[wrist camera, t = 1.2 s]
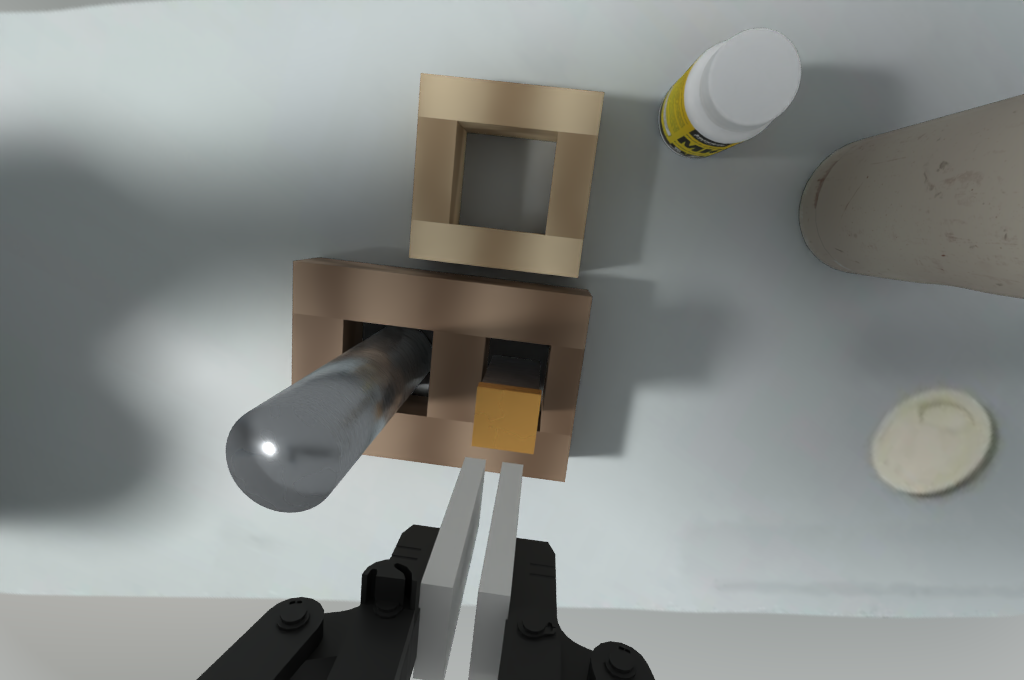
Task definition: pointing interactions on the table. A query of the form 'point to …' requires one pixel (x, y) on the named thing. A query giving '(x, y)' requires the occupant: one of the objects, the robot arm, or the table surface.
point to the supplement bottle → (730, 93)
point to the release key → (508, 405)
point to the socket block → (447, 351)
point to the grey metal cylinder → (325, 421)
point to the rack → (507, 113)
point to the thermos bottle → (927, 202)
